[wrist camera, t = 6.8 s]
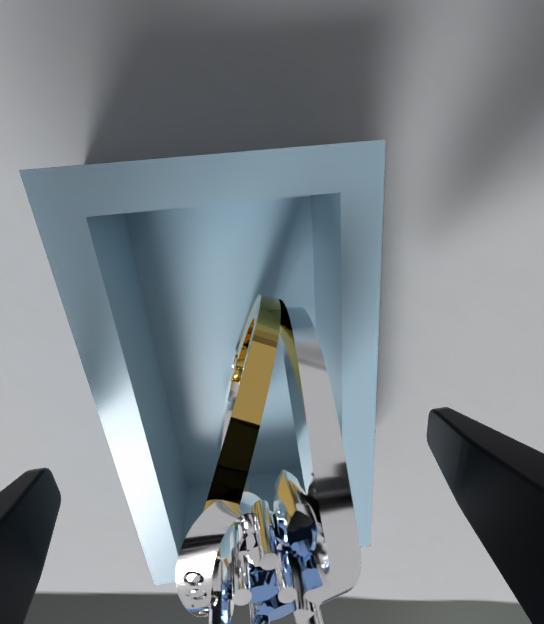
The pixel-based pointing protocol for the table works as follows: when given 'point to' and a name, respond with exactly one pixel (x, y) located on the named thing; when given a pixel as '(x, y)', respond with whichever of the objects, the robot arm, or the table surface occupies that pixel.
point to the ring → (289, 495)
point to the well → (215, 309)
